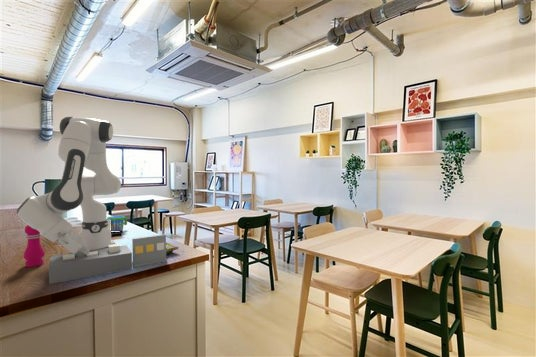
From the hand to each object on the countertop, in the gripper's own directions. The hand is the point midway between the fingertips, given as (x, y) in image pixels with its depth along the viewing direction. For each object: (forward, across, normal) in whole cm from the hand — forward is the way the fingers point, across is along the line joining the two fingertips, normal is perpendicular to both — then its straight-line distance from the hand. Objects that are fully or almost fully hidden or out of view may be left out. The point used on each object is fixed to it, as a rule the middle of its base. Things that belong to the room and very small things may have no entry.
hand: (88, 252), depth 117 cm
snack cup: (+17, +74, -7) cm, 76 cm away
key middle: (+5, 0, +2) cm, 5 cm away
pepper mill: (-8, +23, +20) cm, 31 cm away
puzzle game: (+26, +13, -16) cm, 34 cm away
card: (+22, -2, -12) cm, 25 cm away
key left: (-1, 0, +8) cm, 8 cm away
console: (+7, 0, +4) cm, 8 cm away
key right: (+9, 0, -5) cm, 10 cm away
